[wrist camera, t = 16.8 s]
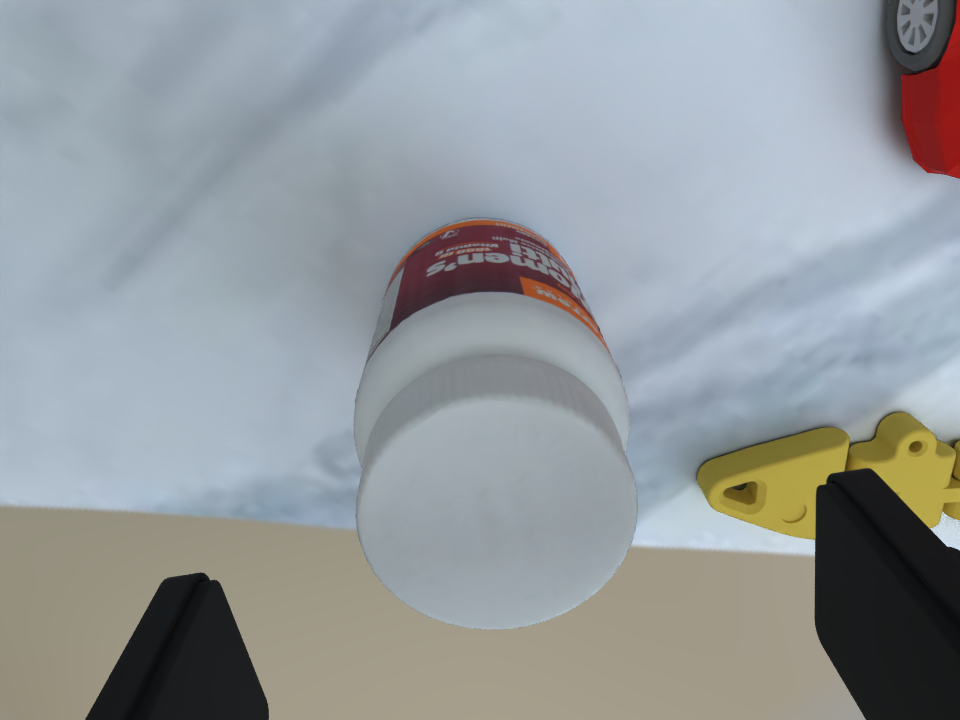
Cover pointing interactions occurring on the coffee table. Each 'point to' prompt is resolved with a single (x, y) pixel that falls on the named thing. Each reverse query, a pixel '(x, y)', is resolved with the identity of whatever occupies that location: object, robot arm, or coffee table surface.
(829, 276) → the coffee table surface
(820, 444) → the toy
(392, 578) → the pill bottle
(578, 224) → the coffee table surface
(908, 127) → the toy car
